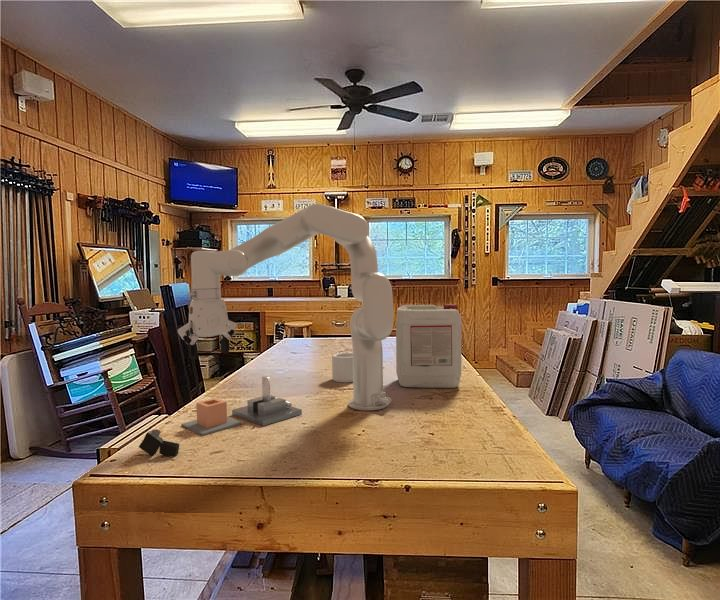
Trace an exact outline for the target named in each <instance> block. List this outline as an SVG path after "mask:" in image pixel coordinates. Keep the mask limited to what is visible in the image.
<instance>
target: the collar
mask: <svg viewBox="0 0 720 600" xmlns="http://www.w3.org/2000/svg"><path fill="white" fill-rule="evenodd" d="M227 404H228V403H227V401H225V400H222V399H220V398H216V397H214V398H210V399H205V400H201V401H198V402H196V403H195V405H196V407H195V408H196V410H195V411H196V420H197V424H200V425H202V426H204V427H206V428H210V427H213V426H217V425H220V424H224V423H227V417H228V411H227V410H228V408H227V406H228V405H227Z"/></svg>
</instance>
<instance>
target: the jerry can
mask: <svg viewBox="0 0 720 600" xmlns="http://www.w3.org/2000/svg"><path fill="white" fill-rule="evenodd" d="M395 322H396V323H395V340H396V342H395V345H396V346H395V350H396V351H395V357H396V358H395V359H396V363H395V367H396V376H397V380H398V383H399V385H400V387H404V388H418V389H419V388H420V389H421V388H422V389H423V388H424V389H425V388H428V389H429V388H430V389H431V388H432V389H455V388H457V387H458V386H459V385H460V381H461V377H462V331H463V330H462V329H463V328H462V324H463V323H462V316H461V314H460V312H459V310H458V304H454V303H453V304H452V303H447V304H446V303H445V304H444V305H443V306H437V305H435V304H402V305H401V306H399V307H398V308H397V310H396V321H395Z"/></svg>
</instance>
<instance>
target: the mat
mask: <svg viewBox="0 0 720 600" xmlns="http://www.w3.org/2000/svg"><path fill="white" fill-rule="evenodd" d="M242 424H243V422H242V421H239V420H237V419H235V418H232V417H229V416H227V423H224V424H220V425H217V426H213V427H210V428H206V427H204V426H202V425H200V424H197V419H195V420H191V421H186V422H183V423H181V427H184V428H185V429H188V430H190V431H192V432H194V433H196V434H197V435H200V436H202V437H203V436H206V435H210V434H213V433H217V432H220V431H224V430H228V429H230V428H231V429H232V428H235V427H237V426H241V425H242Z"/></svg>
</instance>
